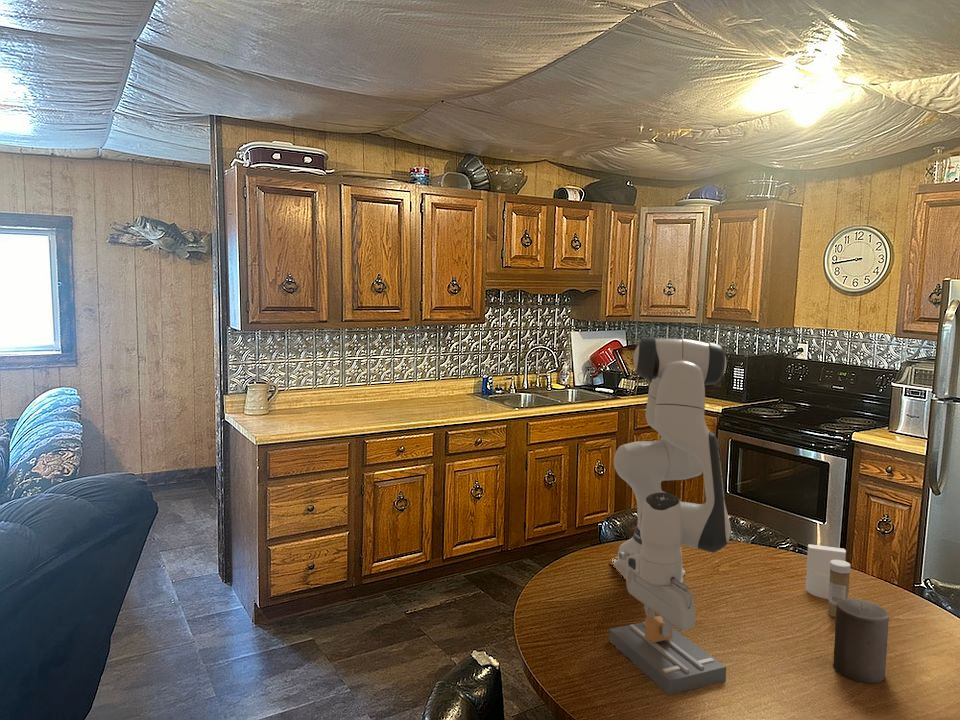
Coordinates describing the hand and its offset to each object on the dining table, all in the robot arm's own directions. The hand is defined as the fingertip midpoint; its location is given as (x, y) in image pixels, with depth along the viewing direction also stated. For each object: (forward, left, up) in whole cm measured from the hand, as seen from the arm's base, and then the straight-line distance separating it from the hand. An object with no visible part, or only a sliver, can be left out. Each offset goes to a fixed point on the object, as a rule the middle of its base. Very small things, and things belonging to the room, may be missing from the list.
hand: (658, 630), depth 147 cm
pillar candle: (+20, +36, -6) cm, 42 cm away
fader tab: (0, 0, -2) cm, 2 cm away
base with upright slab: (-11, +61, -6) cm, 62 cm away
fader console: (+2, 0, -6) cm, 6 cm away
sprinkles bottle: (0, +53, -6) cm, 53 cm away
